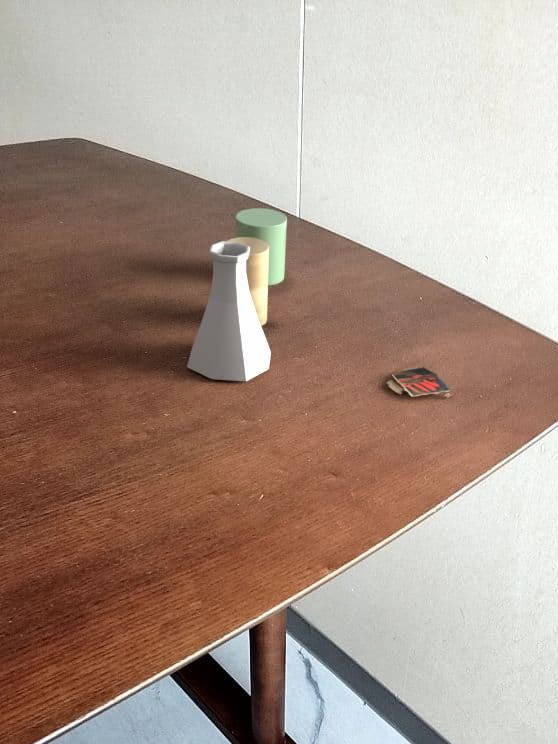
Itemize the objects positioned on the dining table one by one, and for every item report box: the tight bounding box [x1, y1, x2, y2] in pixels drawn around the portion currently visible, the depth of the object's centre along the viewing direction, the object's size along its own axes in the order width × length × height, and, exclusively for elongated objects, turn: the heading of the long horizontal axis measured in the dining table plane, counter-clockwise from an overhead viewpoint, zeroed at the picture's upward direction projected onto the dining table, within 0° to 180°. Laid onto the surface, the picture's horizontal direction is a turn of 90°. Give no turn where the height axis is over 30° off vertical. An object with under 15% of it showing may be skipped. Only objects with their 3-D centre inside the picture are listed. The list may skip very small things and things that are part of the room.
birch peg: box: [227, 237, 269, 327], centre depth 78 cm, size 4×4×7 cm
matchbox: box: [386, 366, 457, 398], centre depth 72 cm, size 5×5×1 cm
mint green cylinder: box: [235, 207, 288, 287], centre depth 86 cm, size 5×5×6 cm
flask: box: [186, 240, 272, 382], centre depth 71 cm, size 7×7×10 cm
